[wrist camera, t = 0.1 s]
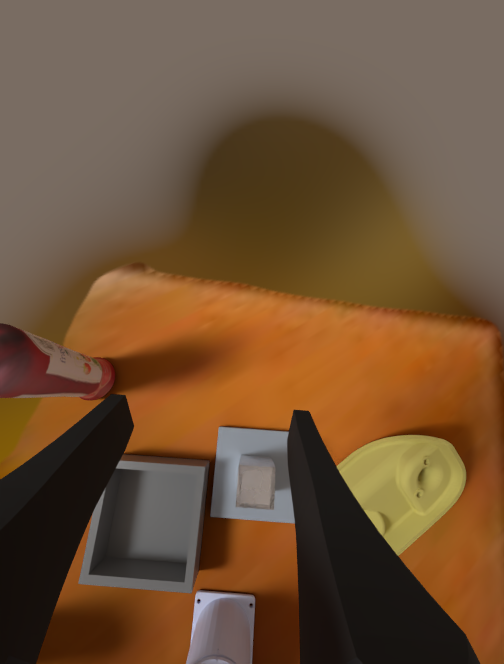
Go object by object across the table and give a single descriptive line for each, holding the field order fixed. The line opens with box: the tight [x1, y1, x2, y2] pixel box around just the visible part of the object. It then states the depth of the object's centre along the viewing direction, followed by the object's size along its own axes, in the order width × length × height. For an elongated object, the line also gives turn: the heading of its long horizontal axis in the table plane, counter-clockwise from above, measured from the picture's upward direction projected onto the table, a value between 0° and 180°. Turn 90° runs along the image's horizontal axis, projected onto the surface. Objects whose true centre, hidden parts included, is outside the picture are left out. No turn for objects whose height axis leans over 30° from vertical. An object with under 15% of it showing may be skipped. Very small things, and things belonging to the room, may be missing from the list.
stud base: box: [210, 426, 295, 523], centre depth 37 cm, size 12×12×6 cm
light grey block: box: [236, 455, 276, 510], centre depth 35 cm, size 5×5×7 cm
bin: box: [78, 454, 210, 593], centre depth 36 cm, size 14×14×4 cm
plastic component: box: [336, 435, 466, 556], centre depth 37 cm, size 20×7×10 cm
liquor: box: [0, 324, 115, 400], centre depth 30 cm, size 7×7×28 cm
